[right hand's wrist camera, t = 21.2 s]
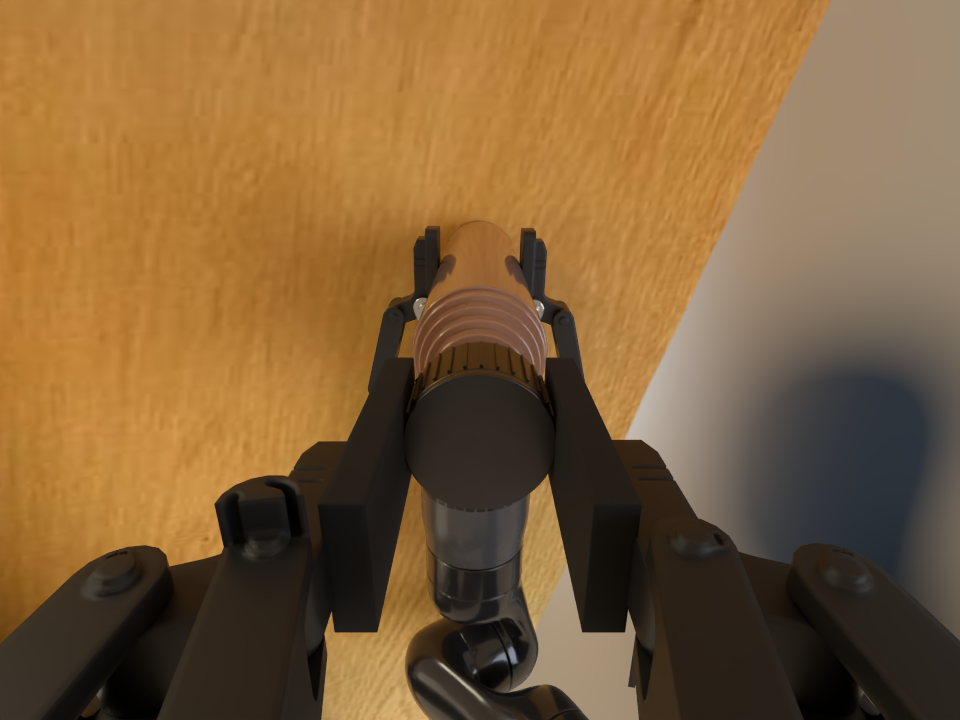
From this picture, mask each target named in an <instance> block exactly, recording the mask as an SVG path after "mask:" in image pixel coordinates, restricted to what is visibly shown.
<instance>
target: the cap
mask: <svg viewBox="0 0 960 720" xmlns="http://www.w3.org/2000/svg"><path fill="white" fill-rule="evenodd" d="M406 415H407V419H406V423H405V427H404V446H405V459H406V463H407V465H408V467H409V469H410V471H411V473H412V474H413V476H414V477H415V479H416V480H417V481H418V482H419V484H420V485H421V486H422V487H423V488H424V489H426V490H427V491H428V492H429V493H430V494H432V495H433V496H435V497H436V498H438V499H440V500H442V501H444V502H446V503H449V504H452V505H454V506H458V507H462V508H469V509H492V508H497V507H502V506H505V505H508V504H511V503H513V502H515V501H518V500H520V499H521V498H523V497H525V496H527V495H528V494H529V493H530V492H532V491H533V490H534V489H535V488H536V487H537V486H538V485H539V484H540V483H541V482H542V481H543V480H544V478H545V477H546V476H547V474H548V472H549V470H550V469H551V466H552V464H553V462H554V456H555V440H556V428H555V424H554V420H553V418H554V414H553V410H552V407H551V403H550V400H549V396H548V393H547V389H546V387H545V385H544V381H543V378H542V375H539V374H538V372H537V371H536V369H535V365H534V364H531V363H530V362H529V361H528V360H527V359H525V357H524V355H523V354H522V355H520V354H519V353H517V352H515V351H514V350H512V348H510V347H509V348H507V347H505V346H502V345H498V343H495V344H494V343H488V342H483V341H480V342H473V343H468V342H466V343H465V344H461V345H458V346H455V347H454V346H452V347H451V348H450V349H448V350H446V351H444V352H442V353H439V354H438V355H437V357H435V358H434V359H433V360H432V361H431V362H428V363H427V365H426V368H425V369H424V370H423V372H422V373H421V372H420V373H419V375H418V379H417V382H416V385H415V384H414V386H413V390H412V393H411V396H410V400H409V403H408V407H407V410H406Z"/></svg>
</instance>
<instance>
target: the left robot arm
mask: <svg viewBox="0 0 960 720" xmlns="http://www.w3.org/2000/svg"><path fill="white" fill-rule="evenodd" d="M546 257H547V250H546V247H545V244H544V242H543V240H542V239H536V231H535V230H534V228H521V240H520V262H519V264H520V267H521V270H522V272H523V275H524V277H525V280H526V283H527V285H528V288H529V291H530V293H531V296H532V299H533V301H534V304H535V307H536V309H537V312H538V315H539V317H540V320H541V321H542V322H545V323H547V324H550V325H551V327H552V332H553V338H554V343H555V348H556V353H557V358H574V360H575V362H576V365H577V367H578V369H579V371H580V373H581V375H582V377H583V379H584V374H583V368H582V363H581V357H580V351H579V345H578V340H577V334H576V328H575V322H574V317H573V315H572V314H571V312H570V310H569V309H568V307H567V305H566V304H565V303H564V302H562V301H556V300H553V299H550V298H548V297H547V296H545V295H544V288H545V272H546ZM439 266H440V226H427V228H426V229H425V236H419V238H418V239H417V241H416V243H415V246H414V279H415V292H414V293H413V294H411V295H409V296H406V297H403V298H400V297H398V298H394V299H393V300H392V301H391V302H390V304H389V307H388V308H387V309H386V311H385V312H384V314H383V319H382V324H381V328H380V333H379V338H378V343H377V348H376V352H375V357H374V362H373V367H372V371H371V376H370V381H369V386H368V391H369V393H370V392H371V389H372V387H373V385H374V383H375V381H376V379H377V377H378V374H379V372H380V370H381V368H382V366H383V364H384V362H385V360H386V358H398V354H399V350H400V345H401V341H402V336H403V332H404V328H405V323H406V322H409V321H412V320H415V319H417V320H418V321H419V319H420V316H421V313H422V311H423V308H424V305H425V303H426V300H427V298H428V295H429V292H430V290H431V287H432V284H433V282H434V279H435V276H436V274H437V271H438V268H439ZM417 379H418V377H417ZM417 379H416V380H415V385H416V382H417ZM584 382H585V380H584ZM544 385H545V381H544ZM529 499H530V493H529V494H528V495H527V496H525V497H523V498H521V499H520V500H518V501H515V502H513V503H511V504H508V505H505V506H502V507H497V508H492V509H469V508H462V507H458V506H454V505H452V504H449V503H446V502H444V501H442V500H440V499H438V498H436V497H435V496H433V495H432V494H430V493H429V492H428V491H427V490H426V489H424V488H423V487H422V486H421V501H422V517H423V523H424V527H425V533H426V558H427V585H428V591H429V596H430V599H431V601H432V603H433V605H434V607H435V608H436V610H437V611H438V612H439V613H440V614H441V615H442V616H444V617H443V618H441V619H439V620H437V621H435V622H433V623H431V624H429V625H428V626H426V627H424V628H423V629H421V630H420V631H419V632H417V633H416V634H415V635H414V637H413V638H412V639H411V641H410V643H409V645H408V648H407V652H406V656H405V674H406V679H407V683H408V686H409V689H410V692H411V694H412V696H413V698H414V700H415V701H416V703H417V705H418V706H419V708H420V709H421V710H422V711H423V713H424V714H425V715H426V716H427V718H428V719H429V720H589V719H588V718H587V717H586V716H585V715H584V714H583V713H582V711H581V710H580V709H579V708H578V707H577V705H576V704H575V703H574V702H573V701H572V700H571V699H570V698H569V697H568V696H567V695H566V694H565V693H564V692H563V691H561V690H560V689H558V688H557V687H555V686H552V685H538V686H533V687H529V688H525V689H522V690H518V691H514V692H509V691H511V690H512V689H514V688H515V687H517V686H518V685H520V684H521V683H522V682H524V681H525V680H526V679H527V677H528V676H529V675H530V673H531V672H532V669H533V667H534V665H535V663H536V660H537V656H538V642H537V637H536V633H535V630H534V627H533V624H532V621H531V618H530V614H529V610H528V606H527V602H526V598H525V593H524V589H523V585H522V580H521V572H522V556H523V539H524V533H525V528H526V524H527V520H528V512H529Z"/></svg>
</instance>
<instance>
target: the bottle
mask: <svg viewBox="0 0 960 720" xmlns="http://www.w3.org/2000/svg"><path fill="white" fill-rule="evenodd" d="M480 341H483V342H488V343H494V344H495V343H498V345H502V346H505V347H507V348H509V347H510V348H512V350H514V351H515V352H517V353H519V354H520V355H522V354H523V355H524V357H525V359H527V360H528V361H529V362H530V363H531V364H534V365H535V369H536V371H537V372H538V374H539V375H543V372H544V368H545V364H546V358H547V339H546V334H545V331H544V328H543V325H542V323H541V320H540V317H539V315H538V312H537V309H536V307H535V304H534V301H533V299H532V296H531V293H530V291H529V288H528V285H527V283H526V280H525V277H524V275H523V272H522V270H521V267H520V264H519V262H518V259H517V256H516V254H515V251H514V248H513V246H512V243H511V241H510V239H509V237H508V236H507V234H506V233H505V232H504V231H503V230H502V229H501V228H499V227H498V226H496V225H494V224H492V223H489V222H484V221H476V222H471V223H468V224H465V225H463V226H462V227H460V228H459V229H458V230H457V231H456V232H455V233H454V234H453V235H452V236H451V238H450V240H449V242H448V245H447V247H446V250H445V252H444V255H443V258H442V260H441V263H440V266H439V268H438V271H437V274H436V276H435V279H434V282H433V284H432V287H431V290H430V292H429V295H428V298H427V300H426V303H425V305H424V308H423V311H422V313H421V316H420V319H419V321H418V324H417V327H416V329H415V333H414V337H413V344H412V354H413V358H414V365H415V370H416V373H417V376H418V375H419V373H420V372H421V373H422V372H423V370H424V369H425V368H426V365H427V363H428V362H431V361H432V360H433V359H434V358H435V357H437V355H438V354H439V353H442V352H444V351H446V350H448V349H450V348H451V347H452V346H454V347H455V346H458V345H461V344H465V343H466V342H468V343H473V342H480Z"/></svg>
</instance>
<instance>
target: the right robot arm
mask: <svg viewBox="0 0 960 720" xmlns="http://www.w3.org/2000/svg"><path fill="white" fill-rule="evenodd" d="M414 384H415V373H414V358H386V360H385V362H384V364H383V366H382V368H381V370H380V372H379V374H378V377H377V379H376V381H375V383H374V385H373V387H372V389H371V392H370V394H369V396H368V398H367V400H366V402H365V404H364V406H363V409H362V411H361V413H360V415H359V417H358V419H357V421H356V424H355V426H354V428H353V430H352V432H351V434H350V436H349V439H348V441H347V442H317V443H316V444H315V445H313V446H312V447H311V448H309V449H308V450H306V451H305V452H304V453H302V455H301V456H300V458H299V460H298V461H297V463H296V465H295V466H294V470H293V471H291V473H290V475H289V476H288V477H286V476H269V475H268V476H263V477H258V478H253V479H249V480H247V481H244V482H242V483H239V484H237V485H235V486H233V487H232V488H230V489H229V490H227V491H226V492H224V493H223V494H222V495H221V496H220V498H219V499H218V500H217V501H216V503H215V509H216V513H217V518H218V522H219V527H220V532H221V536H222V541H223V545H224V548H223V551H222V554H219V555H216V556H213V557H209V558H206V559H202V560H197V561H193V562H188V563H184V564H179V565H175V566H170V567H169V564H168V560H167V556H166V554H164V553H163V552H162V551H161V550H160V549H159V548H156V547H151V546H146V545H144V546H133V547H126V548H123V549H119V550H116V551H113V552H109V553H107V554H105V555H103V556H101V557H99V558H97V559H95V560H93V561H91V562H89V563H88V564H87V565H85V566H84V567H83V568H81V569H80V570H79V571H77V572H76V573H75V574H73V575H72V576H71V577H70V578H69V579H68V580H67V581H66V582H65V583H64V584H63V585H62V586H61V587H60V588H59V589H58V590H57V591H56V592H55V593H53V594H52V595H51V596H50V597H49V598H48V599H47V600H46V601H45V602H44V603H43V604H42V605H41V606H40V607H39V608H38V609H37V610H36V611H35V612H34V613H32V614H31V615H30V616H29V617H28V618H27V619H26V620H25V621H24V622H23V623H22V624H21V625H20V626H19V627H18V628H17V629H16V630H15V631H14V632H12V633H11V634H10V635H9V636H8V637H7V638H6V639H5V640H4V641H3V642H2V643H1V644H0V720H321V715H322V704H323V694H324V684H325V673H326V663H327V649H326V642H325V635H324V633H325V630H326V627H327V624H328V620H329V617H330V614H331V611H332V616H333V623H334V631H335V632H377V631H378V627H379V622H380V618H381V613H382V608H383V604H384V599H385V594H386V590H387V585H388V581H389V576H390V571H391V567H392V562H393V557H394V553H395V548H396V543H397V539H398V534H399V530H400V525H401V520H402V516H403V511H404V506H405V502H406V497H407V493H408V488H409V483H410V479H411V474H412V473H411V471H410V469H409V467H408V465H407V463H406V459H405V446H404V427H405V423H406V419H407V415H406V410H407V407H408V403H409V400H410V396H411V393H412V390H413V386H414ZM545 387H546V389H547V393H548V396H549V400H550V403H551V407H552V410H553V414H554V418H553V420H554V424H555V428H556V440H555V456H554V462H553V464H552V466H551V469H550V470H549V472H548V475H549V480H550V485H551V489H552V494H553V499H554V503H555V508H556V513H557V517H558V522H559V526H560V531H561V536H562V540H563V545H564V550H565V554H566V559H567V564H568V568H569V573H570V577H571V582H572V586H573V591H574V596H575V601H576V605H577V610H578V614H579V619H580V624H581V628H582V632H625V628H626V621H627V613H628V610H629V613H630V616H631V619H632V622H633V625H634V628H635V631H636V635H635V642H634V649H633V656H632V663H631V670H630V677H629V684H628V686H629V687H635V684H636V693H637V703H638V713H639V720H960V641H959V640H958V639H957V638H956V637H955V636H954V635H953V634H952V633H951V632H950V631H949V630H948V629H947V628H946V627H945V626H943V625H942V624H941V623H940V622H939V621H938V620H937V619H936V618H935V617H934V616H933V615H932V614H931V613H930V612H929V611H928V610H927V609H925V608H924V607H923V606H922V605H921V604H920V603H919V602H918V601H917V600H916V599H915V598H914V597H913V596H912V595H911V594H910V593H909V592H907V591H906V590H905V589H904V588H903V587H902V586H901V585H900V584H899V583H898V582H897V581H896V580H895V579H894V578H893V577H892V576H890V575H889V574H888V573H887V572H886V571H885V570H883V569H882V568H881V567H880V566H878V565H877V564H876V563H874V562H873V561H871V560H870V559H868V558H866V557H864V556H862V555H860V554H858V553H856V552H854V551H852V550H848V549H846V548H842V547H839V546H835V545H830V544H819V543H813V544H808V545H803V546H801V547H800V548H799V549H798V550H797V551H795V552H794V555H793V558H792V562H791V564H786V563H782V562H777V561H772V560H768V559H763V558H759V557H755V556H751V555H748V554H744V553H741V552H739V551H738V550H737V548H736V546H735V544H734V543H733V541H732V540H731V538H730V537H729V536H728V535H727V534H726V533H725V532H723V531H722V530H721V529H719V528H718V527H717V526H715V525H713V524H710V523H708V522H706V521H704V520H702V519H698V518H697V516H696V514H695V513H694V511H693V509H692V508H691V506H690V505H689V503H688V501H687V500H686V498H685V496H684V495H683V493H682V491H681V490H680V488H679V486H678V485H677V483H676V481H673V477H672V475H671V473H670V471H669V470H668V469H666V465H665V463H664V462H663V460H662V458H661V457H660V455H659V453H658V452H657V451H656V450H654V449H653V448H652V447H650V446H649V445H647V444H646V443H645V442H643V441H642V440H612V439H611V437H610V435H609V433H608V431H607V429H606V426H605V424H604V422H603V420H602V418H601V416H600V414H599V412H598V409H597V407H596V405H595V403H594V401H593V399H592V397H591V394H590V392H589V390H588V388H587V386H586V384H585V382H584V379H583V377H582V375H581V373H580V371H579V369H578V367H577V365H576V362H575V360H574V358H546V366H545ZM864 692H865V694H866V695H867V696H868V698H869V699H870V700H871V701H872V703H873V704H874V705H875V706H874V705H873V704H872V703H871V702H870V700H869V699H868V698H867V697H866V695H865V694H864ZM96 694H97V695H96ZM94 697H95V698H94ZM93 698H94V699H93ZM92 699H93V700H92ZM91 701H92V702H91ZM90 702H91V703H90ZM89 703H90V704H89Z"/></svg>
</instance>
